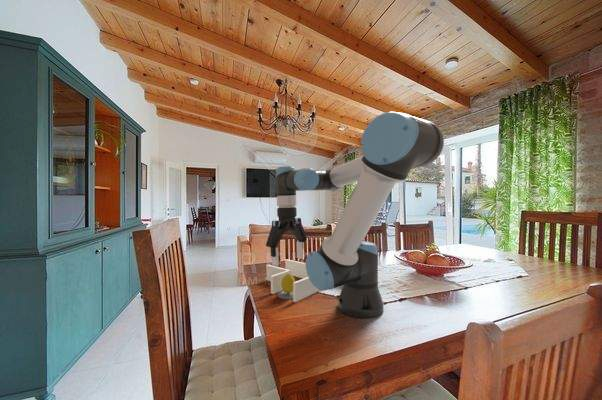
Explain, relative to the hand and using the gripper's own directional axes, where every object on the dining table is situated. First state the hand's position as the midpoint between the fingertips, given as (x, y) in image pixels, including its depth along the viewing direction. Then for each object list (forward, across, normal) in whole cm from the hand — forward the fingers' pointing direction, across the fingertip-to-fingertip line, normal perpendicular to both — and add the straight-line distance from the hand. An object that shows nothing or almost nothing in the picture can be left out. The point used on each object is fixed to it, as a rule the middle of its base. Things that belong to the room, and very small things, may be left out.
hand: (288, 261), depth 99 cm
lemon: (+13, 0, -1) cm, 13 cm away
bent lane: (+13, -9, -7) cm, 17 cm away
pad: (+13, 0, -1) cm, 13 cm away
